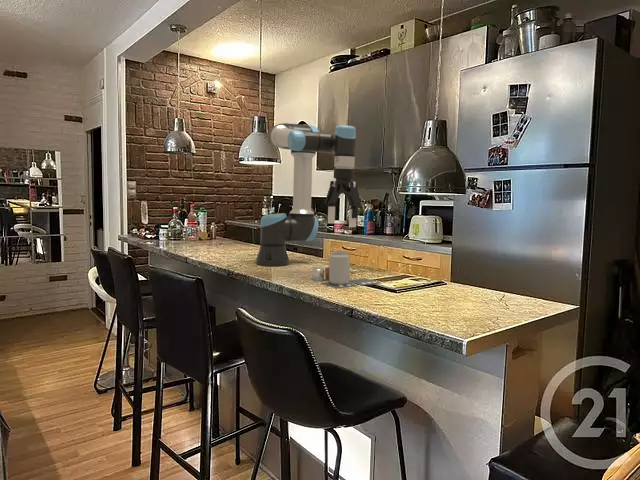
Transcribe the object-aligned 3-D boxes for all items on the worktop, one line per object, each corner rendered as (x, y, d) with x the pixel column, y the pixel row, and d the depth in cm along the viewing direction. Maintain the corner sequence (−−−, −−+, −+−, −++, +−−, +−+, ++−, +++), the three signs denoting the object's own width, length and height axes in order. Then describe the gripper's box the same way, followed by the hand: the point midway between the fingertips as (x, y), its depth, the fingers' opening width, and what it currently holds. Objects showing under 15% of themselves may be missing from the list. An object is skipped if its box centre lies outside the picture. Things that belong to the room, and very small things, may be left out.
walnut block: (325, 281, 181) (325, 268, 181) (330, 279, 185) (329, 266, 185) (337, 281, 179) (337, 268, 179) (342, 279, 183) (341, 267, 183)
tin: (310, 280, 182) (310, 267, 182) (319, 279, 185) (320, 267, 184) (316, 282, 179) (316, 269, 178) (326, 281, 181) (326, 268, 181)
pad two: (320, 284, 175) (320, 282, 175) (342, 282, 181) (342, 280, 181) (336, 289, 167) (336, 287, 167) (358, 287, 173) (358, 284, 172)
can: (349, 282, 177) (350, 250, 176) (348, 285, 170) (349, 252, 169) (329, 281, 178) (330, 250, 177) (328, 285, 171) (328, 252, 170)
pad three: (345, 281, 182) (345, 279, 181) (365, 279, 187) (365, 277, 187) (361, 286, 173) (361, 284, 173) (382, 284, 179) (382, 282, 179)
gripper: (317, 167, 184) (315, 222, 187) (356, 167, 163) (353, 228, 166) (333, 168, 188) (330, 221, 191) (373, 168, 167) (370, 228, 170)
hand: (341, 225), depth 178 cm, fingers open, 13 cm apart
